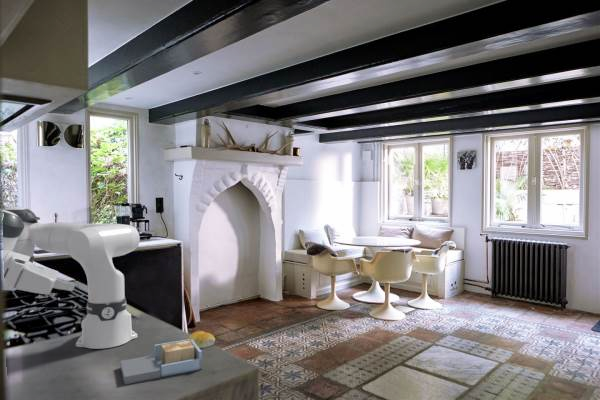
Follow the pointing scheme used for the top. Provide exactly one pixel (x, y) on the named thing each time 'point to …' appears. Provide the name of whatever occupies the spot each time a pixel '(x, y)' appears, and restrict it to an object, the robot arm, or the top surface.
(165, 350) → the oak block
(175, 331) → the top surface
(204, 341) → the bread roll
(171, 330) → the top surface
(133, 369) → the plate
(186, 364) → the tray
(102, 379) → the top surface
